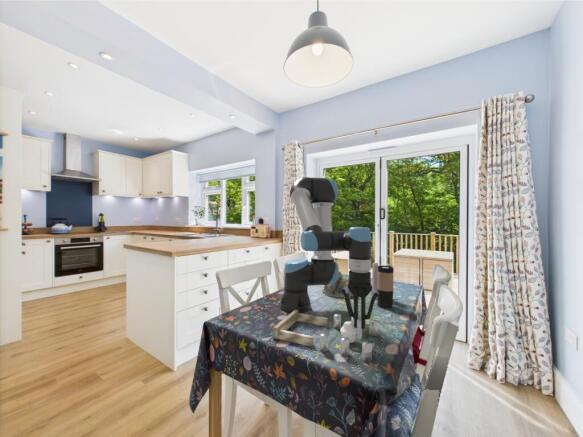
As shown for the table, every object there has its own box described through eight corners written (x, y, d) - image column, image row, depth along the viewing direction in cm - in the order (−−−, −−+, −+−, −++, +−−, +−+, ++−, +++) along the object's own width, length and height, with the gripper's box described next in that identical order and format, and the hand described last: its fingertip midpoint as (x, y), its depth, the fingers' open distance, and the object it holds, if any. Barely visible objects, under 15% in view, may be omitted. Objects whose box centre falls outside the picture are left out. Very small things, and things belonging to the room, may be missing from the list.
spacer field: (318, 350, 85) (318, 335, 85) (334, 325, 105) (334, 313, 105) (371, 362, 78) (371, 346, 78) (377, 333, 98) (377, 320, 98)
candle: (399, 300, 138) (400, 263, 138) (374, 299, 139) (374, 263, 139) (394, 296, 146) (395, 261, 145) (370, 295, 146) (371, 261, 146)
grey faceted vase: (361, 339, 91) (360, 320, 92) (353, 346, 87) (351, 325, 87) (346, 335, 95) (344, 317, 96) (337, 342, 91) (336, 322, 91)
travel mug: (374, 305, 129) (374, 266, 129) (381, 302, 134) (381, 264, 134) (388, 310, 123) (389, 268, 123) (395, 306, 129) (396, 267, 129)
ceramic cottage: (318, 292, 151) (320, 267, 150) (340, 290, 158) (342, 266, 158) (334, 301, 137) (336, 274, 137) (357, 299, 145) (360, 273, 144)
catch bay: (273, 338, 93) (273, 327, 92) (295, 318, 111) (295, 309, 111) (311, 347, 87) (312, 335, 87) (327, 325, 105) (328, 315, 105)
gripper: (339, 271, 89) (339, 338, 89) (378, 274, 84) (378, 345, 84) (343, 267, 96) (343, 329, 96) (379, 270, 91) (379, 336, 91)
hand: (359, 337), depth 90 cm, fingers closed
